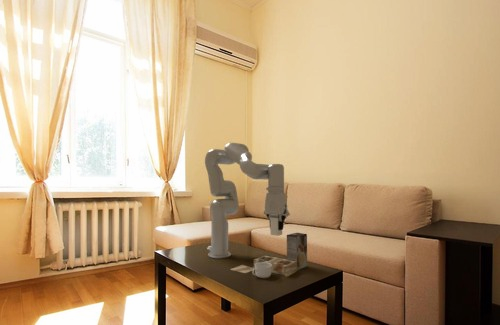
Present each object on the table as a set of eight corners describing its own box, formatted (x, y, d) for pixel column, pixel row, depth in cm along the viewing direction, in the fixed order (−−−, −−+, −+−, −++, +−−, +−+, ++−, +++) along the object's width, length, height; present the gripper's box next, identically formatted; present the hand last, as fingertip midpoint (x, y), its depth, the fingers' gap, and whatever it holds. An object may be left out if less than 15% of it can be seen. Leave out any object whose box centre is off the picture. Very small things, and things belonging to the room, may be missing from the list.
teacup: (264, 273, 134) (264, 261, 134) (275, 277, 128) (275, 265, 128) (247, 277, 128) (247, 264, 128) (258, 282, 122) (258, 269, 122)
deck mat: (230, 270, 137) (230, 269, 137) (241, 266, 144) (241, 265, 144) (245, 274, 131) (245, 273, 131) (256, 269, 139) (256, 268, 139)
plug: (270, 234, 136) (270, 213, 136) (275, 233, 139) (274, 212, 140) (277, 235, 133) (277, 213, 134) (282, 234, 136) (282, 213, 137)
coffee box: (296, 263, 149) (296, 232, 150) (307, 266, 145) (307, 233, 145) (286, 267, 142) (286, 234, 143) (297, 270, 138) (297, 236, 139)
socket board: (253, 269, 139) (253, 258, 139) (264, 264, 147) (264, 254, 148) (286, 277, 128) (286, 265, 129) (296, 271, 137) (297, 260, 137)
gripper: (257, 189, 140) (257, 228, 138) (287, 190, 130) (288, 232, 128) (265, 189, 146) (266, 226, 144) (295, 190, 136) (296, 229, 134)
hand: (276, 228), depth 136 cm, fingers closed on plug, 4 cm apart
